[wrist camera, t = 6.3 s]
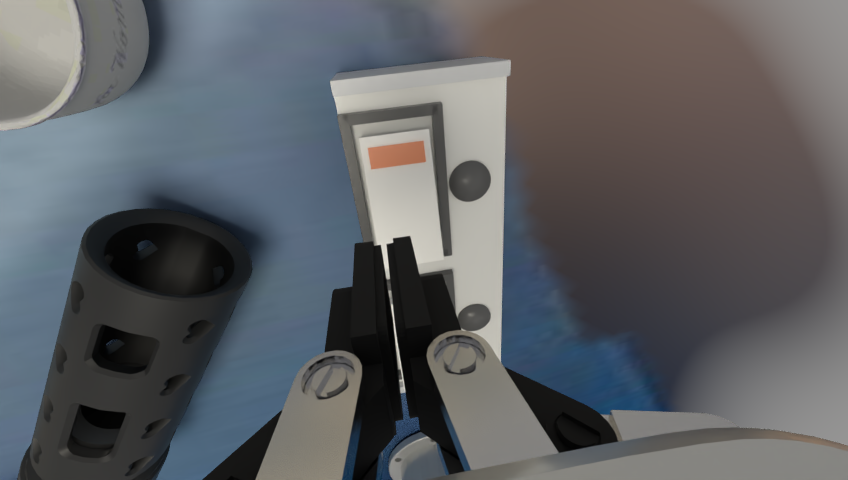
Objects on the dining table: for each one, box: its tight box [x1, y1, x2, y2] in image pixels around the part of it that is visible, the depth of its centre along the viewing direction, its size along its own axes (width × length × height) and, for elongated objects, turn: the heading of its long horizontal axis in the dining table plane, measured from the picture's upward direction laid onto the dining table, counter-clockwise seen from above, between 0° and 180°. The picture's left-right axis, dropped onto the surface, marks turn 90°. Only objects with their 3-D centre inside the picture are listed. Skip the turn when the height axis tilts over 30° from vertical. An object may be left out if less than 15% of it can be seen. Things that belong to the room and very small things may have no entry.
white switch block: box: [330, 56, 511, 393], centre depth 28 cm, size 26×10×6 cm, turn 5°
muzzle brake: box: [17, 209, 252, 480], centre depth 28 cm, size 10×28×10 cm, turn 148°
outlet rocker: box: [359, 129, 444, 269], centre depth 22 cm, size 8×4×2 cm, turn 6°
